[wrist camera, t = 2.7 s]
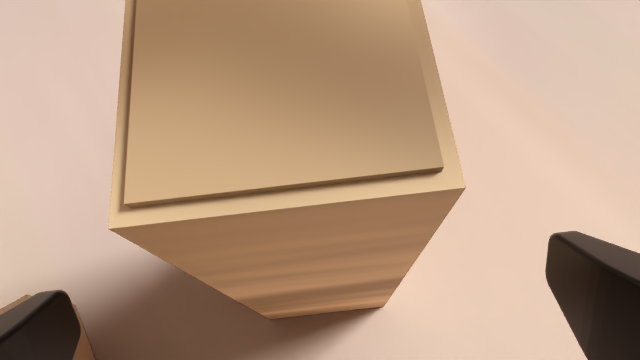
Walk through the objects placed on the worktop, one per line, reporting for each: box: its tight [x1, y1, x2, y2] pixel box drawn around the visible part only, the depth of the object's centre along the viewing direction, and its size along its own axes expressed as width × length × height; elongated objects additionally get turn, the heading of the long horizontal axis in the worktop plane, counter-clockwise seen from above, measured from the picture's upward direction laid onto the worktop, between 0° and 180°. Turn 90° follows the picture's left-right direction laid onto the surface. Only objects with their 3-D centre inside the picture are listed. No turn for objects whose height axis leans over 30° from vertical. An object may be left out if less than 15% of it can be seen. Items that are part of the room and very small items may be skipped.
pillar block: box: [108, 0, 466, 319], centre depth 12 cm, size 4×4×13 cm
